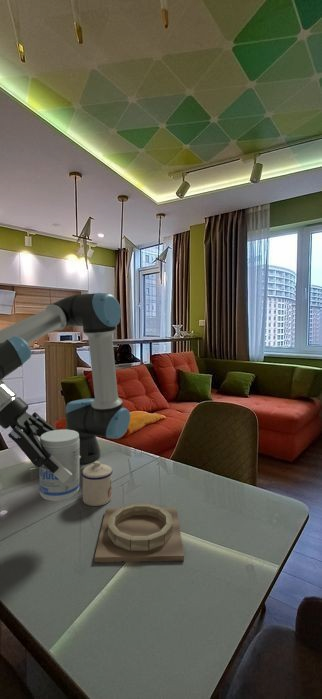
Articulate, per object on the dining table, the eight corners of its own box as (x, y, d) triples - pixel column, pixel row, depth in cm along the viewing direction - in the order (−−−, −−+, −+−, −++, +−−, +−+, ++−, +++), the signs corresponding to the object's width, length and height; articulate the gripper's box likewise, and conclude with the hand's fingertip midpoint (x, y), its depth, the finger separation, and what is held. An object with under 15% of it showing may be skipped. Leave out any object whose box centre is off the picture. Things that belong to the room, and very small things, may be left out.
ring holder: (105, 512, 94) (105, 500, 94) (176, 511, 95) (176, 499, 95) (94, 562, 74) (94, 546, 74) (183, 560, 75) (184, 545, 75)
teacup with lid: (115, 504, 99) (115, 465, 98) (84, 509, 96) (83, 470, 95) (107, 485, 110) (107, 451, 110) (79, 490, 107) (79, 454, 106)
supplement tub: (34, 502, 78) (32, 441, 77) (46, 483, 88) (45, 428, 87) (75, 502, 79) (74, 441, 78) (83, 482, 88) (82, 428, 87)
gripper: (13, 406, 92) (72, 461, 94) (-29, 432, 70) (49, 503, 72) (32, 387, 92) (90, 442, 94) (-5, 407, 70) (73, 479, 72)
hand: (72, 469), depth 83 cm, fingers closed on supplement tub, 9 cm apart
